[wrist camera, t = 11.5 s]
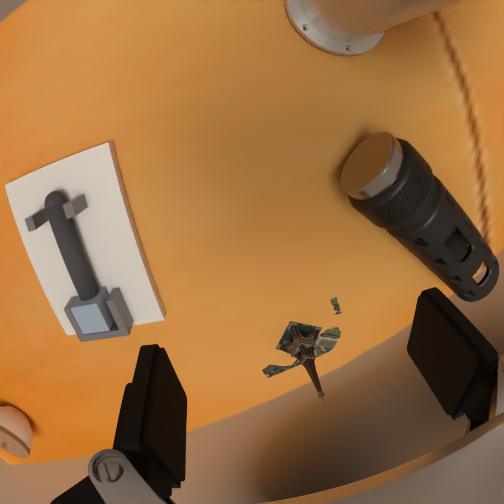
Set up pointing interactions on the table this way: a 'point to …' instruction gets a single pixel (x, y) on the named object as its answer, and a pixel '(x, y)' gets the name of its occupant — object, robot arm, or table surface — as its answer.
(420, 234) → the muzzle brake
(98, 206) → the cable board
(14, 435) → the lidded bowl
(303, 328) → the eiffel tower figurine
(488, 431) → the robot arm
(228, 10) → the table surface
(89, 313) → the cable
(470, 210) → the table surface
